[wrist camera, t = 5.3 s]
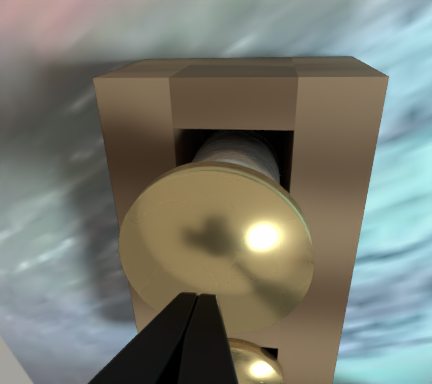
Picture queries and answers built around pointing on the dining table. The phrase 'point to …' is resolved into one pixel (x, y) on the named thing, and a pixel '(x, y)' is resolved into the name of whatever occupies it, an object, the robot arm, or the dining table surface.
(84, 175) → the dining table surface
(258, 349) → the peg
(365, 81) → the block
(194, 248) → the peg
